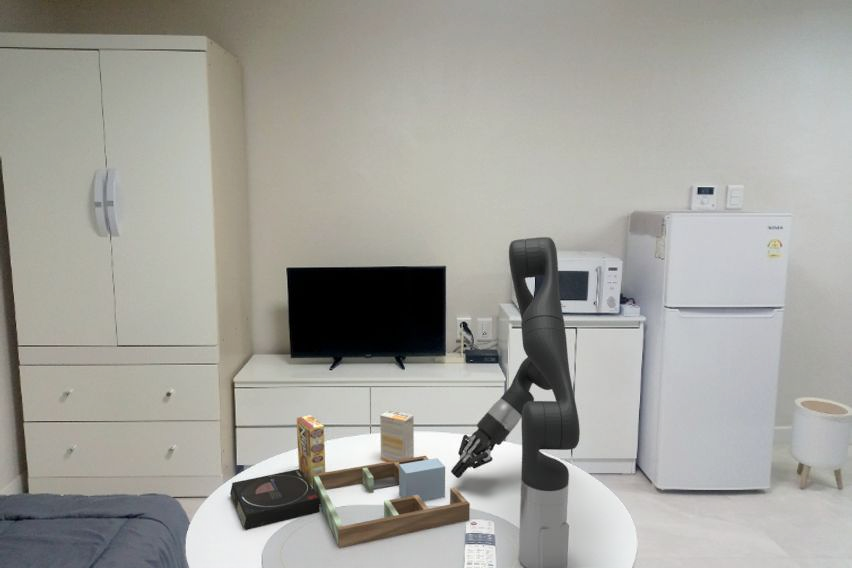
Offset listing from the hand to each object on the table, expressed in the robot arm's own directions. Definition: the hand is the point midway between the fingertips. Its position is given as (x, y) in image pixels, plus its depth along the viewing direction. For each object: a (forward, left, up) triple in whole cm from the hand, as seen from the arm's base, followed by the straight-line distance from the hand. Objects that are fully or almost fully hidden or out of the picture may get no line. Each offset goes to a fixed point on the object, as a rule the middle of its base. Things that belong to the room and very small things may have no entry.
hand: (454, 475), depth 154 cm
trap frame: (-1, +18, -4) cm, 18 cm away
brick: (0, +9, -4) cm, 9 cm away
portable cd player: (+9, +43, -5) cm, 44 cm away
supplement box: (+21, +8, -4) cm, 23 cm away
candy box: (+19, +32, -4) cm, 37 cm away
